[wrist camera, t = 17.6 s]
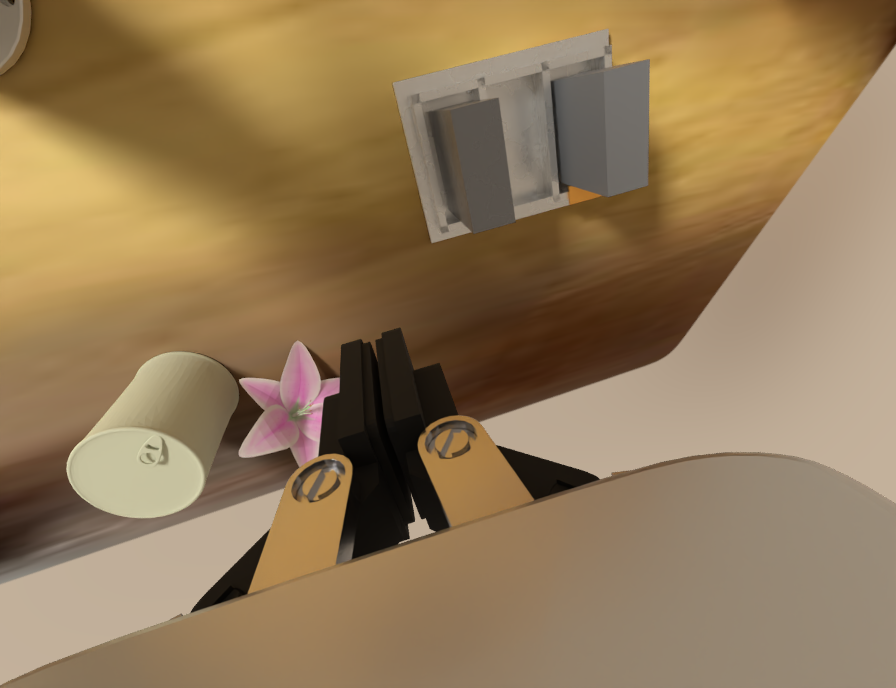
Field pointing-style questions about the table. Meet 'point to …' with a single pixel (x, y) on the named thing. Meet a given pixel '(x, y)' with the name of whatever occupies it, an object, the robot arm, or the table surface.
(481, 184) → the rack
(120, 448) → the can
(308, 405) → the lily
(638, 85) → the panel
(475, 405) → the table surface
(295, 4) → the table surface
